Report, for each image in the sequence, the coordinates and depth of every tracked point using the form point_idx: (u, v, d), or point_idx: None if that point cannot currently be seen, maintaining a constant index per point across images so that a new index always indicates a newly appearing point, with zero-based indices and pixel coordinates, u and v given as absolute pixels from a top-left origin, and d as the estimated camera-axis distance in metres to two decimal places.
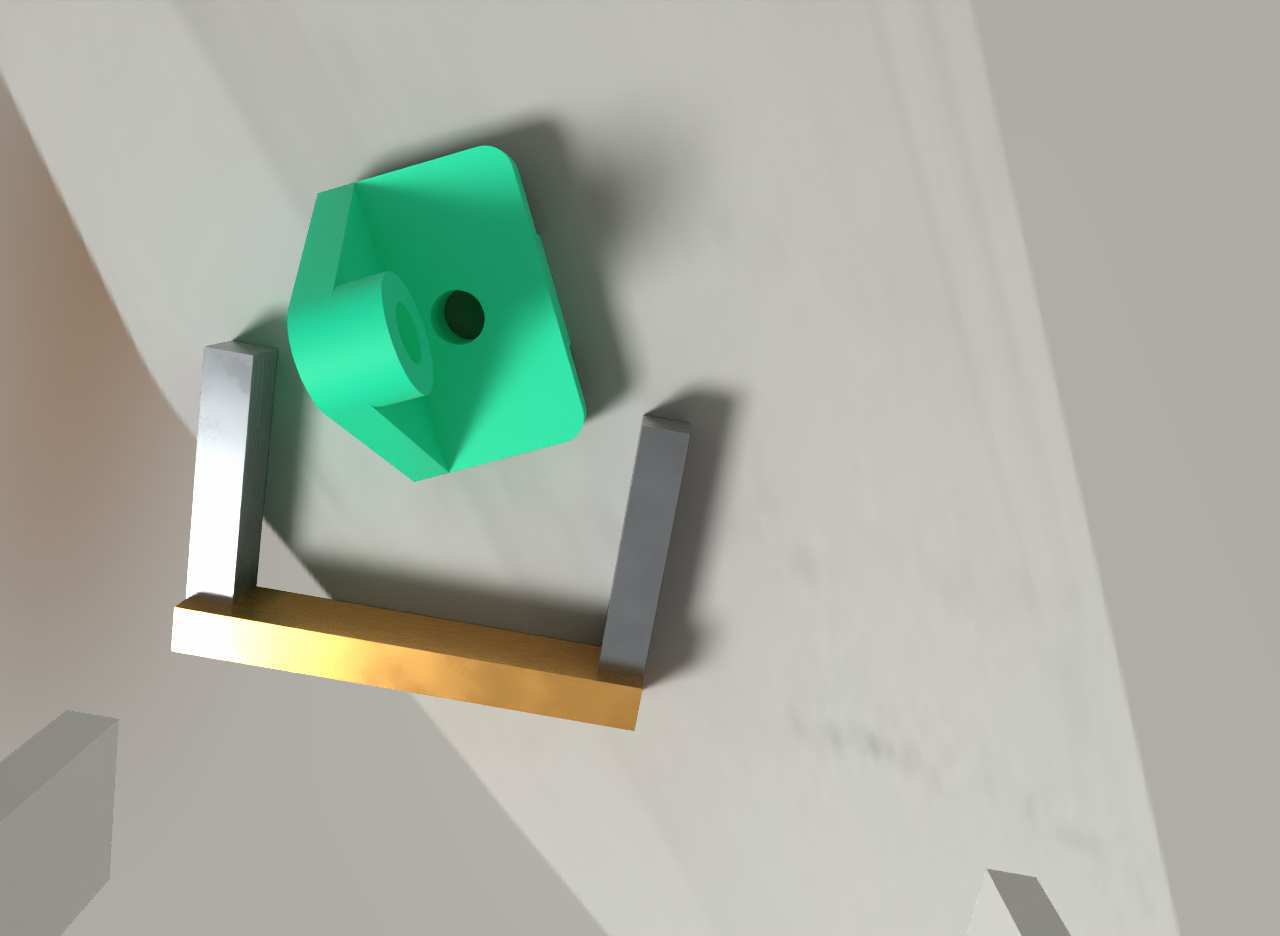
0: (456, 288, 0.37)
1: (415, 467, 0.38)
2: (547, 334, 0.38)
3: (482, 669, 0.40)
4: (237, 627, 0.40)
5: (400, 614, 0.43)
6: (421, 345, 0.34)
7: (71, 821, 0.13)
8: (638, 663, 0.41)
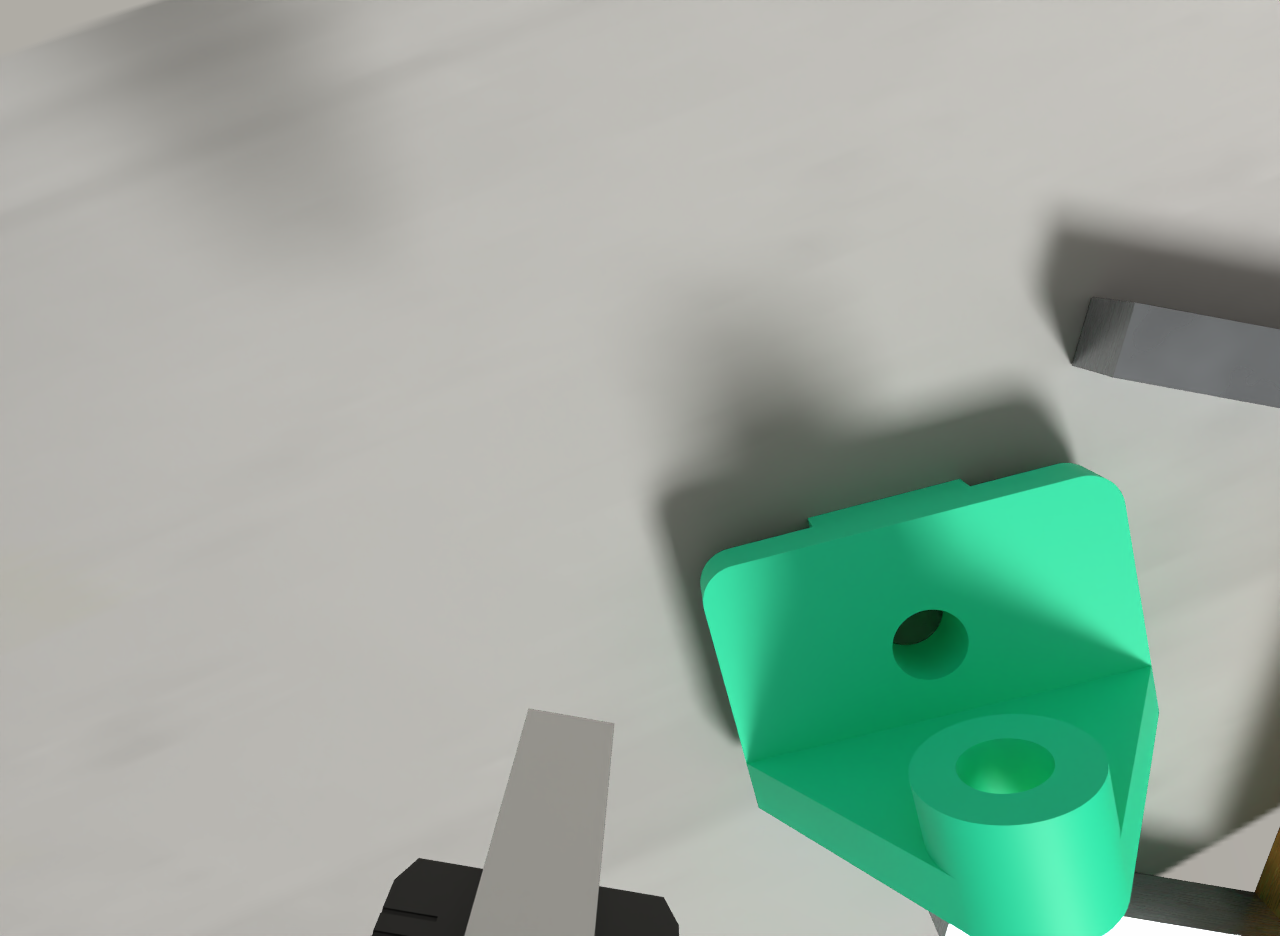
0: (890, 644, 0.27)
1: (1151, 720, 0.26)
2: (963, 524, 0.26)
3: None
4: None
5: None
6: (1010, 735, 0.23)
7: None
8: None
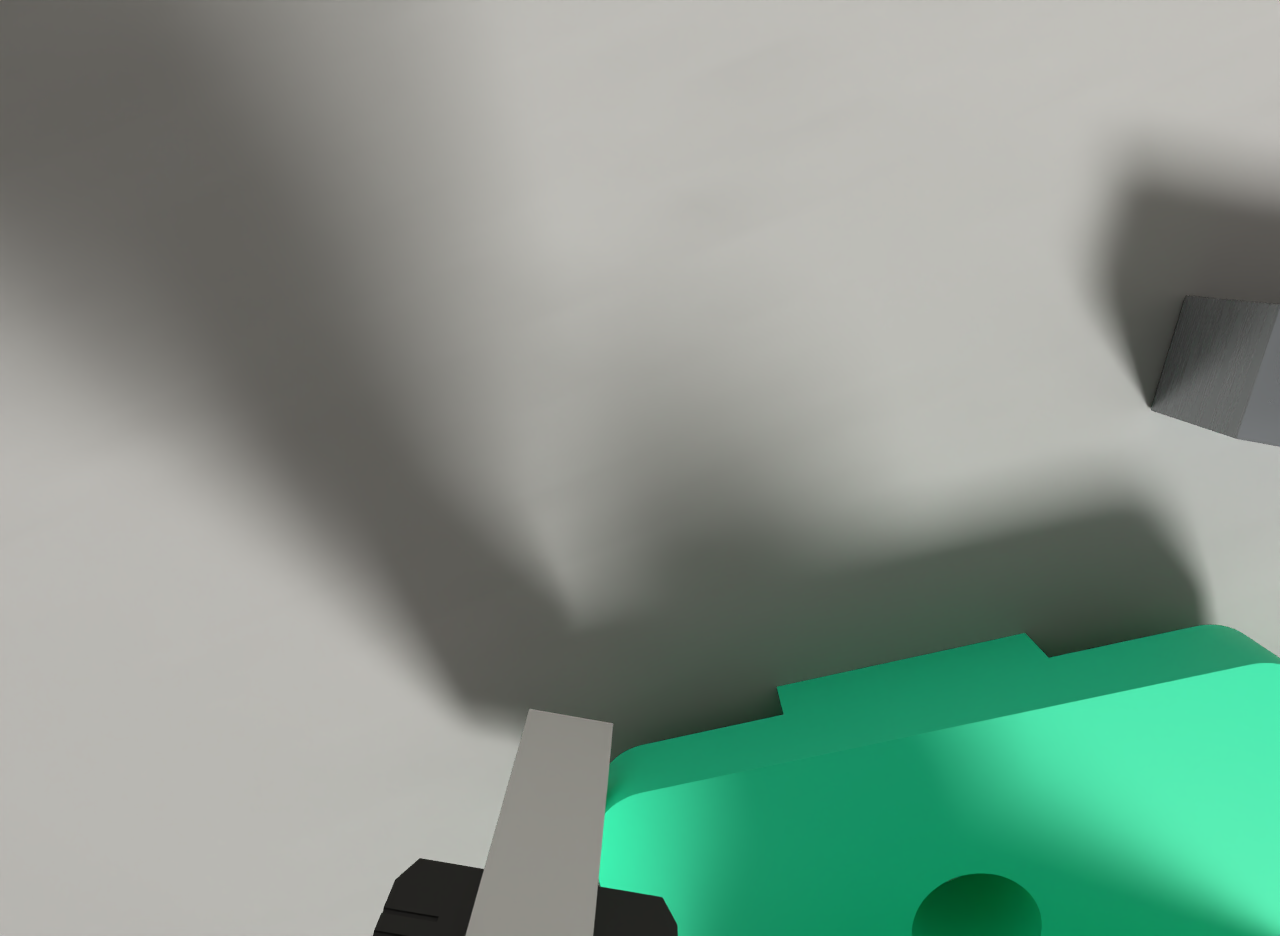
0: (909, 927, 0.16)
1: None
2: (1041, 737, 0.15)
3: None
4: None
5: None
6: None
7: None
8: None
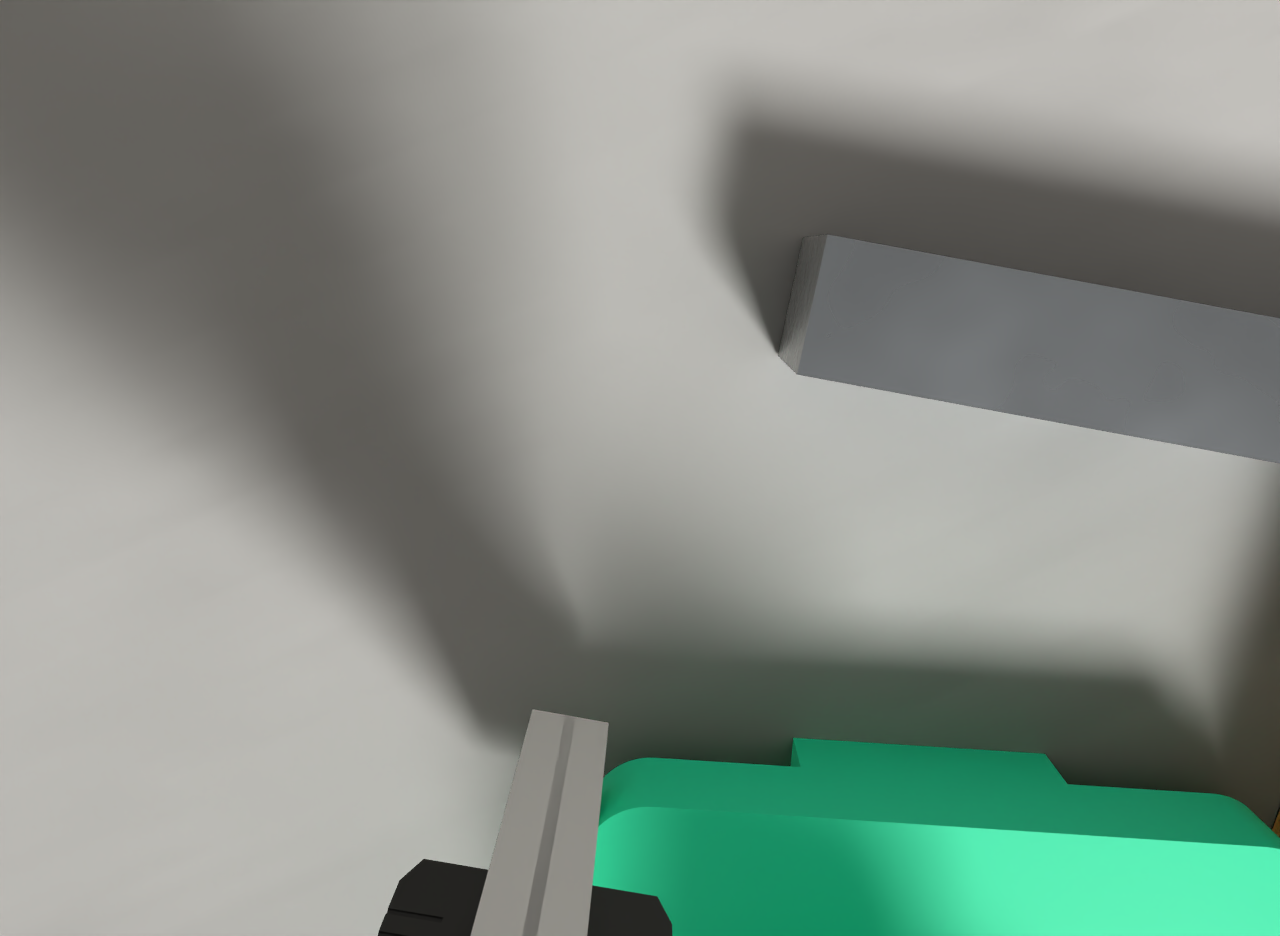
0: None
1: None
2: (1051, 860, 0.15)
3: None
4: None
5: None
6: None
7: None
8: None
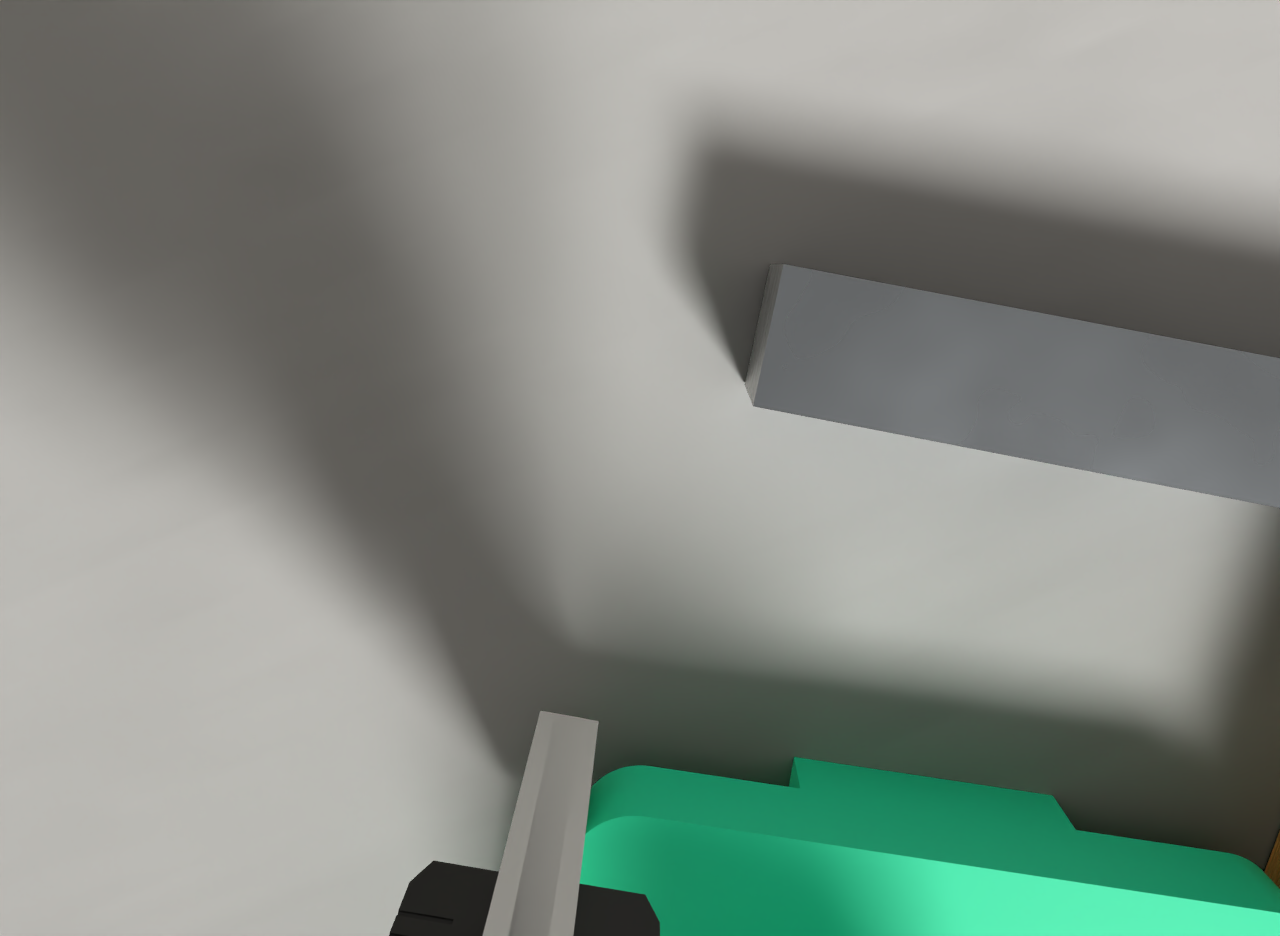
0: None
1: None
2: (1055, 908, 0.15)
3: None
4: None
5: None
6: None
7: None
8: None
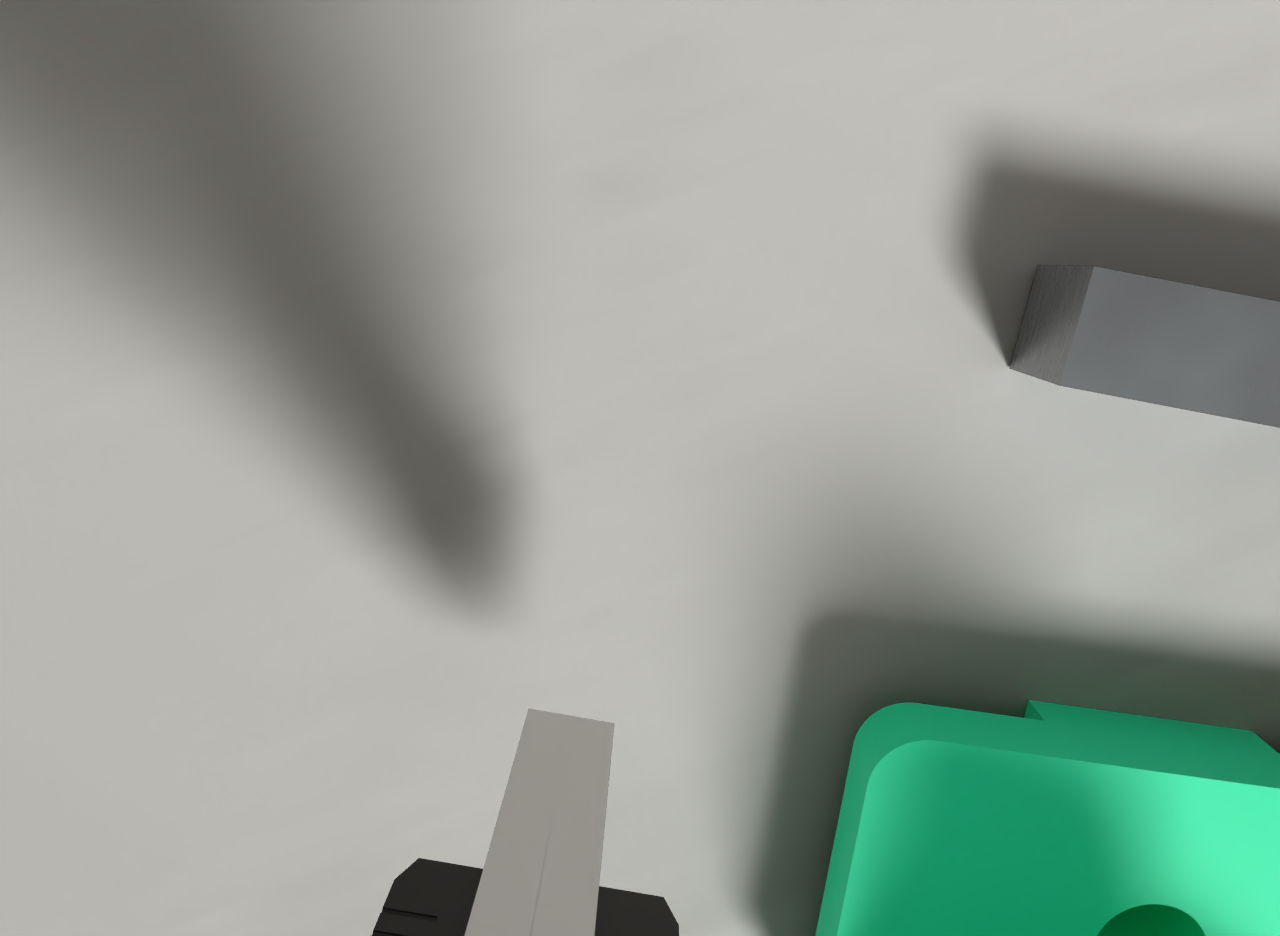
0: (1096, 932, 0.18)
1: None
2: (1278, 813, 0.18)
3: None
4: None
5: None
6: None
7: None
8: None
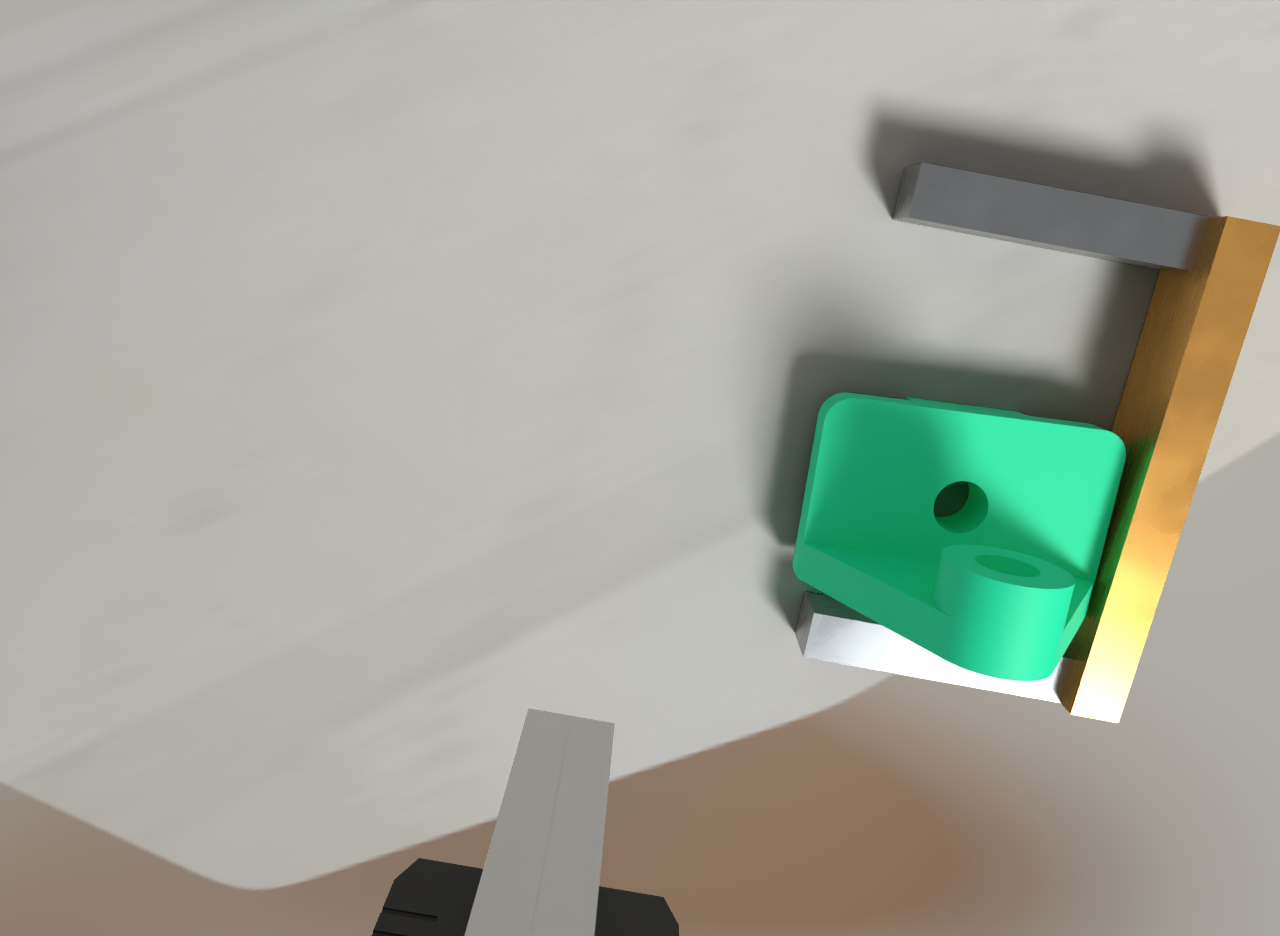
0: (935, 496, 0.38)
1: (1084, 609, 0.37)
2: (1017, 432, 0.37)
3: (1179, 403, 0.35)
4: (1099, 656, 0.38)
5: None
6: (1011, 557, 0.34)
7: None
8: (1192, 222, 0.35)
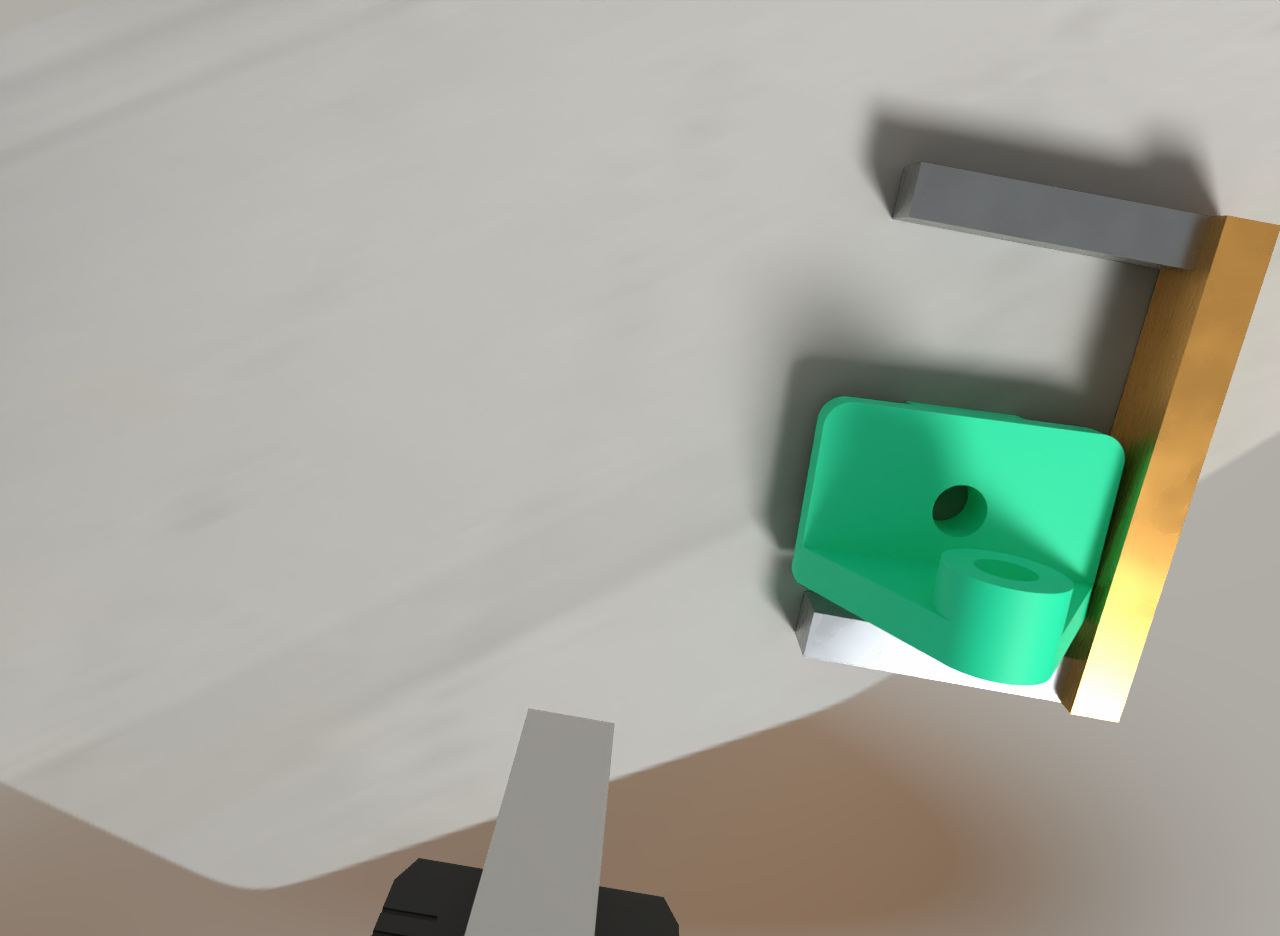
0: (934, 500, 0.38)
1: (1083, 613, 0.37)
2: (1017, 436, 0.37)
3: (1179, 402, 0.35)
4: (1099, 655, 0.38)
5: None
6: (1010, 561, 0.34)
7: None
8: (1191, 221, 0.35)
